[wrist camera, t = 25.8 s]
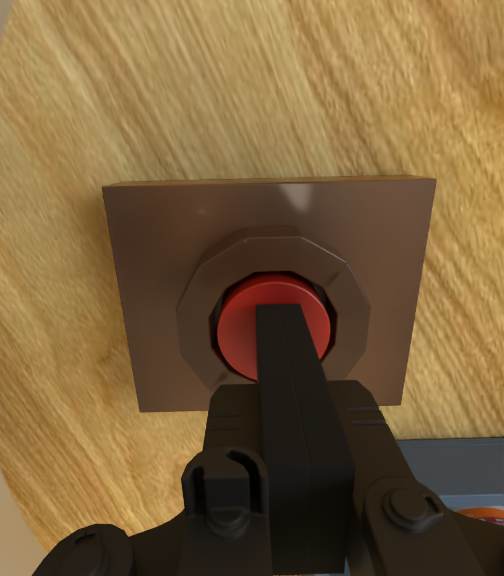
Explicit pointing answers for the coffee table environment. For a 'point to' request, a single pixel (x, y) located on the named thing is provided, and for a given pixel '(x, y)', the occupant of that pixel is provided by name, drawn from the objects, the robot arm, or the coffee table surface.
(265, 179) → the control
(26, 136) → the coffee table surface
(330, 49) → the coffee table surface
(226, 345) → the button
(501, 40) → the coffee table surface
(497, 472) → the blue shallow tray
